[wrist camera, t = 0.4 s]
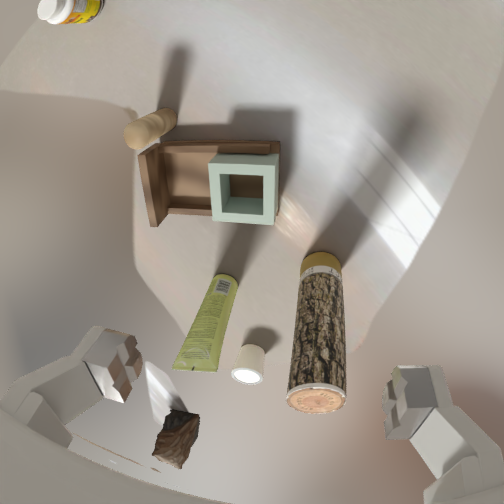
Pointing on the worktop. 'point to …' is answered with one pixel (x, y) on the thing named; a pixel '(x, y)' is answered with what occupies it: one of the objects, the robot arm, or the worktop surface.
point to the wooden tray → (193, 175)
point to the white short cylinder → (249, 365)
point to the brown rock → (176, 438)
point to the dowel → (149, 128)
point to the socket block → (243, 207)
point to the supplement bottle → (69, 11)
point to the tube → (208, 328)
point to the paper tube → (319, 338)
